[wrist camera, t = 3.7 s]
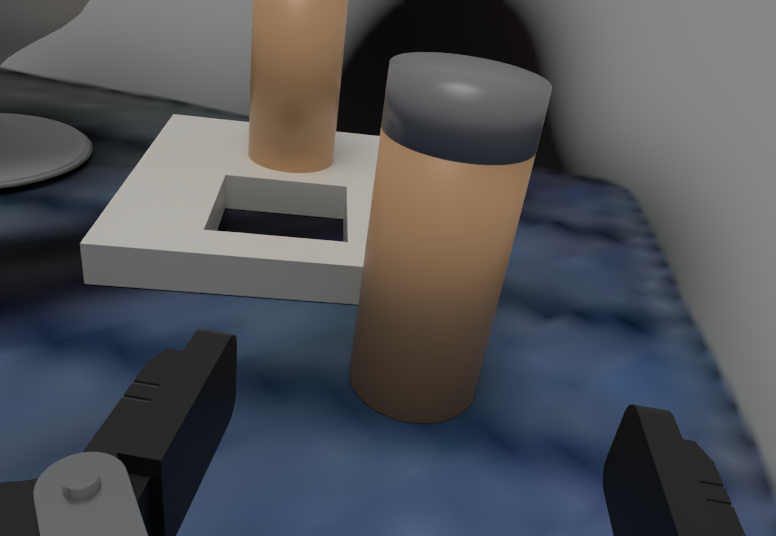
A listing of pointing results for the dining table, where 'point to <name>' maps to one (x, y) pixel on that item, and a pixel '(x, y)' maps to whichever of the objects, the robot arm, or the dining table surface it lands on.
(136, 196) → the white board with post
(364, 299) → the grey-capped tan peg
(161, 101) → the dining table surface
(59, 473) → the robot arm
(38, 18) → the chalice
